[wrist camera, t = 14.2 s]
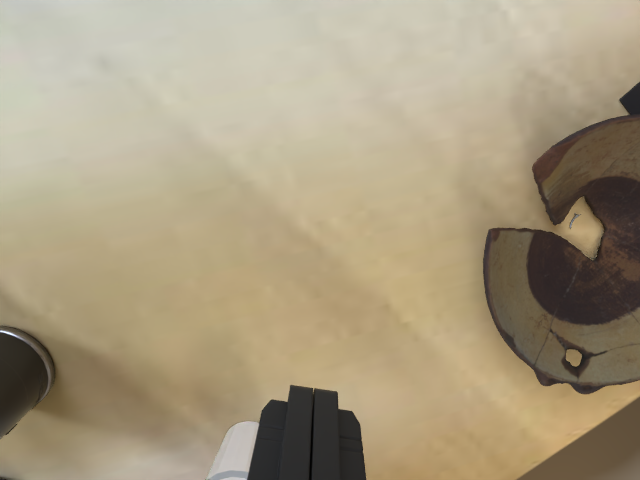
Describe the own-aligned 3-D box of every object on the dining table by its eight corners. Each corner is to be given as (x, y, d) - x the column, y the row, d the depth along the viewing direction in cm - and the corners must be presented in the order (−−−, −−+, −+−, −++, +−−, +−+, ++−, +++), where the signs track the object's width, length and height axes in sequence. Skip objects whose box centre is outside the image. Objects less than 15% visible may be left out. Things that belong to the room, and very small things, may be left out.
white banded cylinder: (277, 413, 43) (268, 468, 36) (285, 465, 45) (278, 526, 38) (213, 418, 43) (192, 474, 36) (224, 469, 45) (206, 530, 38)
